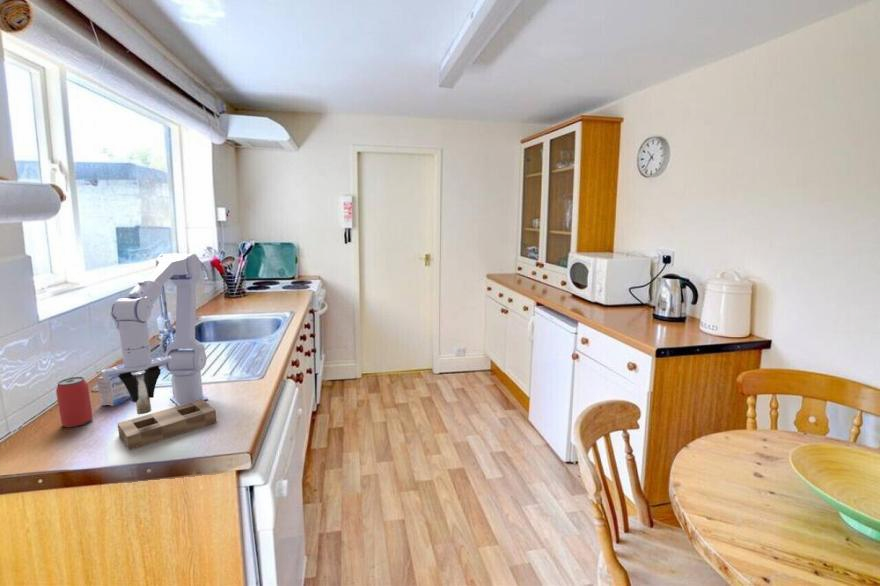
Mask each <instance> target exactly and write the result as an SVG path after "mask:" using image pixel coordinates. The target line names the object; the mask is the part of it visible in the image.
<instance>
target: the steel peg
mask: <svg viewBox="0 0 880 586" xmlns="http://www.w3.org/2000/svg"><path fill="white" fill-rule="evenodd" d="M132 376H133V377H134V384H135V393H136V397H137V402H135V406H136V414H138V415H144V414H145V415H146V414H149V413H150V412H152V406H151V398H150V396H149V388H148V380H147V372H145V371H138V372H134V373H133V374H132Z"/></svg>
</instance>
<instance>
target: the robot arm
mask: <svg viewBox="0 0 880 586" xmlns="http://www.w3.org/2000/svg"><path fill="white" fill-rule="evenodd" d="M201 277H202V262H201V260H200V258H199V256H198V255H197V254H195V253H161V254H159V255H158V257H157V258H156V260H155V269H154V270H153V271H152V272H151V274H150V276H149V277H148V278H147V279H145V278H144V279H140V280H139V281H138V282H137V284H136V285H135V286H134V287H133V288H132V289H131V290H130V291H129V292H128V293H127V294H126V296H125V297H124V298H118V299H117V300H116V301H114V302H113V303H112V306H111V309H110V311H111V312H110V318H111V319H112V320H113V321H114V323H115V328H116V330H118V331H119V338H120V344H121V345H120V347H121V352H122V353H121V354H122V361H123V363H122V364H119V365H116V366H113V367H109V368H105V369H101V370H100V372H101V377H102V378H103V379H104V380H106V379H109V378H111V377H115V376H118V377H119V378H120V379H121V381H122V382H123V383H124V385H125V386H126V388H127V390H128V392H129V394H130V397H131V398H130V400H131V402H132V403H136V402H137V397H136V393H135V384H134V377H133V376H132V374H131V373H133V374H134V373H137V372H147V380H148V388H149V396H150V399H152V398H154V397H155V396H154V395H155V388H156V385H157V382H158V379H159V378H160V374H161V373H162V372H161V368H160V367H165V370H166V371H168V372H169V373H170V374H169V375H171V380H170V381H171V386H172V387H171V388H172V395H171V396H169V399H170V400H171V401H172V402H173V403H175V405H177V406H180V405H184V404H188V403H191V402H195V401H198V400H203V401H207V400H209V397H208V396H207V395H206V394H204V392H203V383H202V370H204V369H205V366H206V364H207V354H206V347H205V344H203V343H202V342H200V341H199V340H197V339H196V314H197V313H196V309H197V308H196V306H197V304H196V303H197V302H196V301H197V284H198V283H200V282H201ZM167 282H169V283H171V284H174V285H175V287H176V304H175V305H176V311H175V340H174V341H172V342H171V343H170V344H168V345H167V347H166V352H165V356H163V357H161V356H160V357H155V358H154V357H153V358H152V351H151V345H150V336H149V327H148V320H149V319H150V318H151V316H152V310H153V307H154V304H155V303H156V301H157V300H158V299H159V298H160V297H161V295H162V292H163V291H162V287H163V286H164V285H165V284H166V283H167Z"/></svg>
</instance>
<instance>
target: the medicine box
mask: <svg viewBox="0 0 880 586" xmlns="http://www.w3.org/2000/svg"><path fill="white" fill-rule="evenodd" d="M131 374H134V373H131ZM96 380H97V387H98V392H99V400H100V405H101V404H102V405H101V406H105V405H110V406H109V407H115V406H117V405H116V404H118V403H120V404H122V403H123V401H124V402H126V401H128V400H130V399H131V397H130V394H129V392H128V390H127V388H126V386H125V385H124V383H123V382H122V381H121V379H120V378H119V377H118V376H115V377H111V378H109V379H106V380H104V379H103V378H102V376H100V377H97V378H96ZM129 398H130V399H129ZM127 399H128V400H127ZM125 400H126V401H125ZM121 402H122V403H121ZM114 405H115V406H114ZM118 405H119V404H118Z"/></svg>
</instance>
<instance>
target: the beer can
mask: <svg viewBox="0 0 880 586" xmlns="http://www.w3.org/2000/svg"><path fill="white" fill-rule="evenodd" d="M55 393H56V398H57V405H58V411H59V412H58V413H59V416H60V417H59V418H60V422H61V425H62V426H63V427H64V426H65V428H74V427H73V426H76V427H79V425H80V426H83V425H85V423H86V424H87V422H88V423H89V422H91V421H92V420H93V418H94V417H93V409H92V403H91V402H92V401H91V398H90V396H91V395H90V390H89V385H88V382H87V381H86V379H85V377H84V376H72V377H68V378H63V379H61V380H59V381H58V382H57V387H56V392H55ZM82 424H83V425H82Z"/></svg>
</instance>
